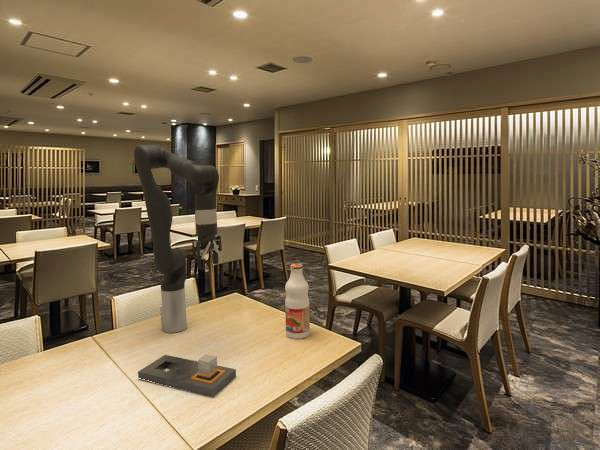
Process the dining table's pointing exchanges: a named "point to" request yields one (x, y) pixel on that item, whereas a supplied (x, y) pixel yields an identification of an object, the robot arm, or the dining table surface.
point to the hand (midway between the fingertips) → (208, 266)
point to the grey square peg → (207, 367)
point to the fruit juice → (297, 304)
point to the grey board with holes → (186, 375)
